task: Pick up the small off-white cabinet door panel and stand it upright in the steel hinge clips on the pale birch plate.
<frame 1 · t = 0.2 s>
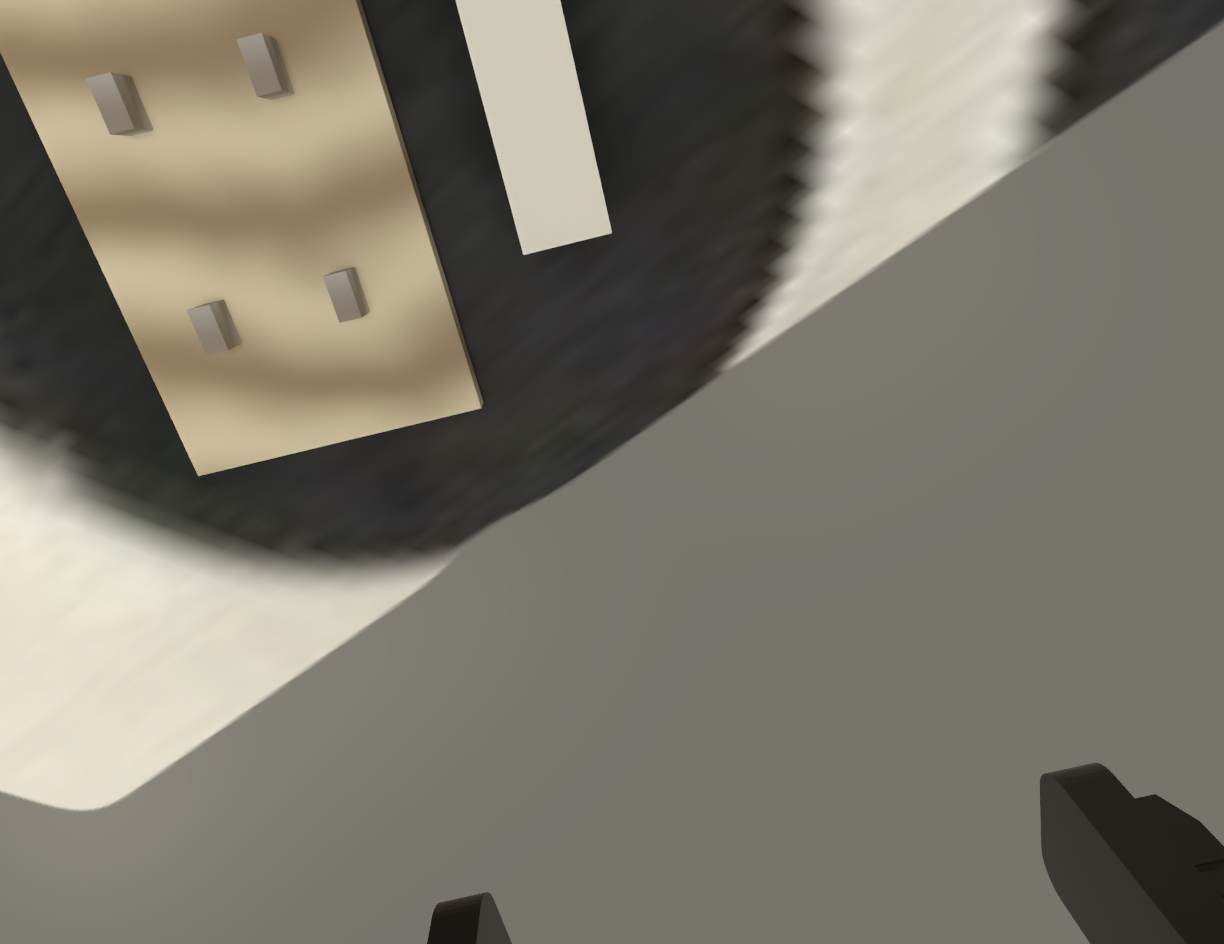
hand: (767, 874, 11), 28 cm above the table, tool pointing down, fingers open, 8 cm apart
door panel: (533, 79, 32), on the table
hinge plate: (255, 202, 34), on the table
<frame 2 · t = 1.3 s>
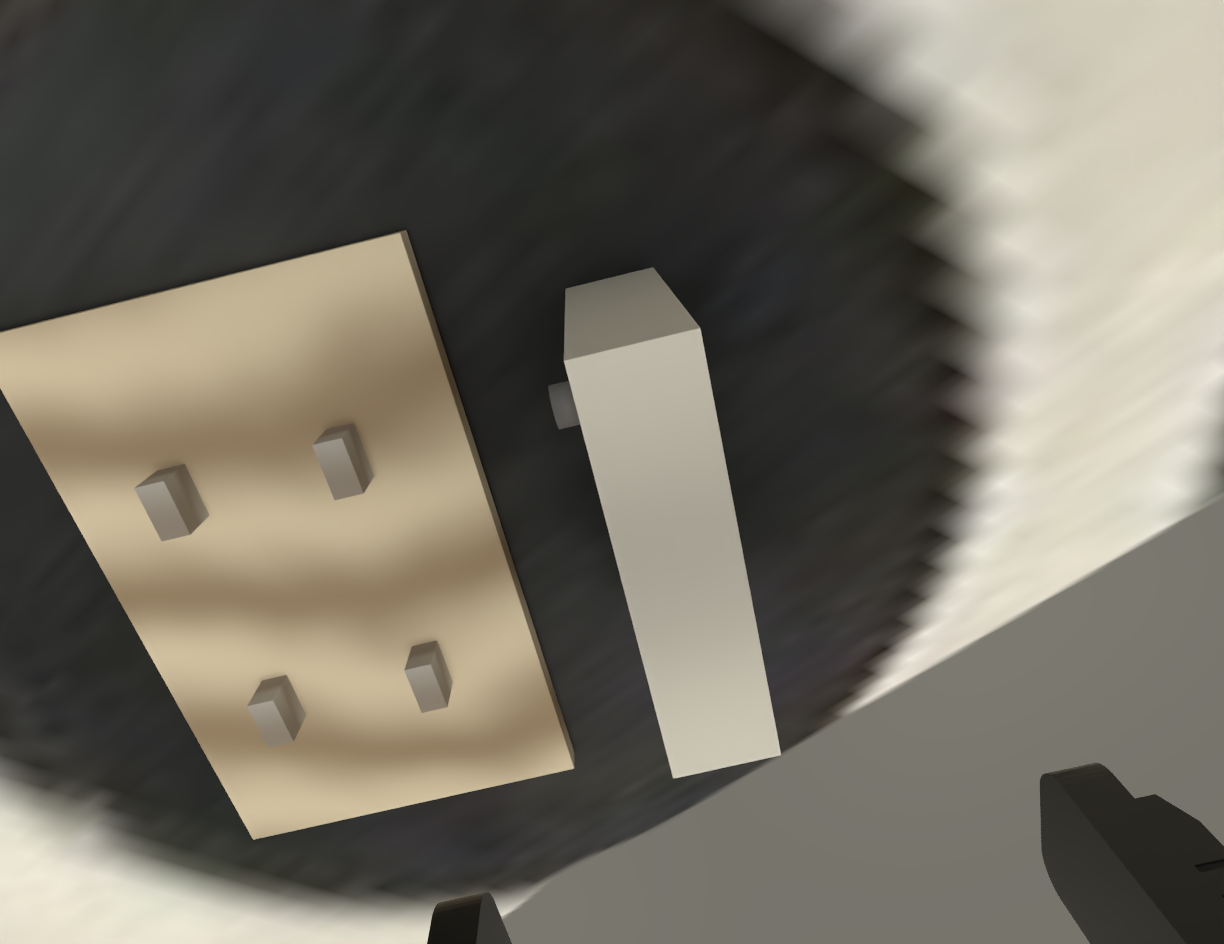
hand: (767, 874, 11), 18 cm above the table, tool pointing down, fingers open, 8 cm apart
door panel: (646, 441, 28), on the table
hinge plate: (323, 570, 29), on the table
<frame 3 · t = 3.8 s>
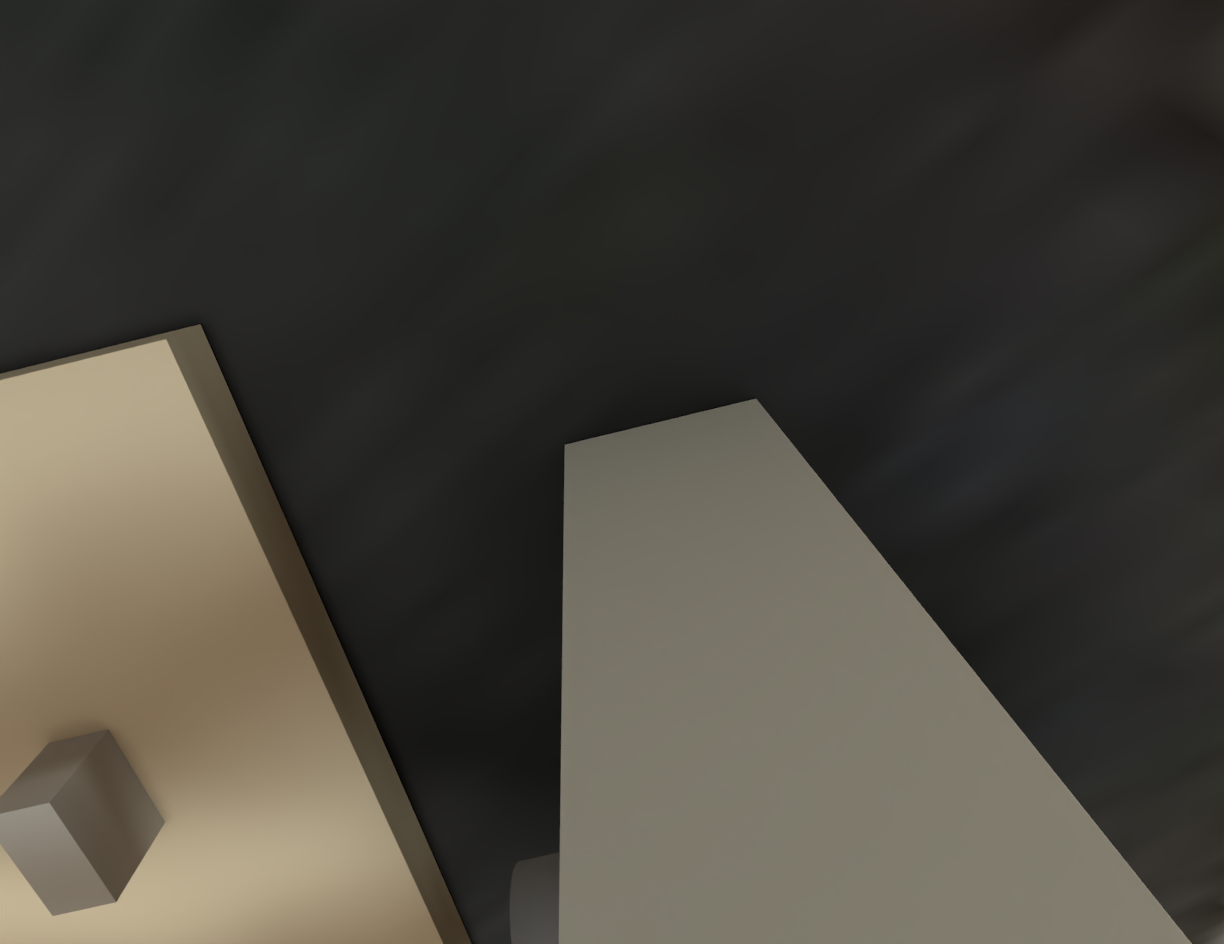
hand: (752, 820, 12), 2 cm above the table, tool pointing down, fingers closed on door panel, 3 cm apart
door panel: (728, 726, 14), on the table, touching gripper
when the fingers open (5 cm above the table, at t = 10.1 s): door panel stays where it is, resting on hinge plate.
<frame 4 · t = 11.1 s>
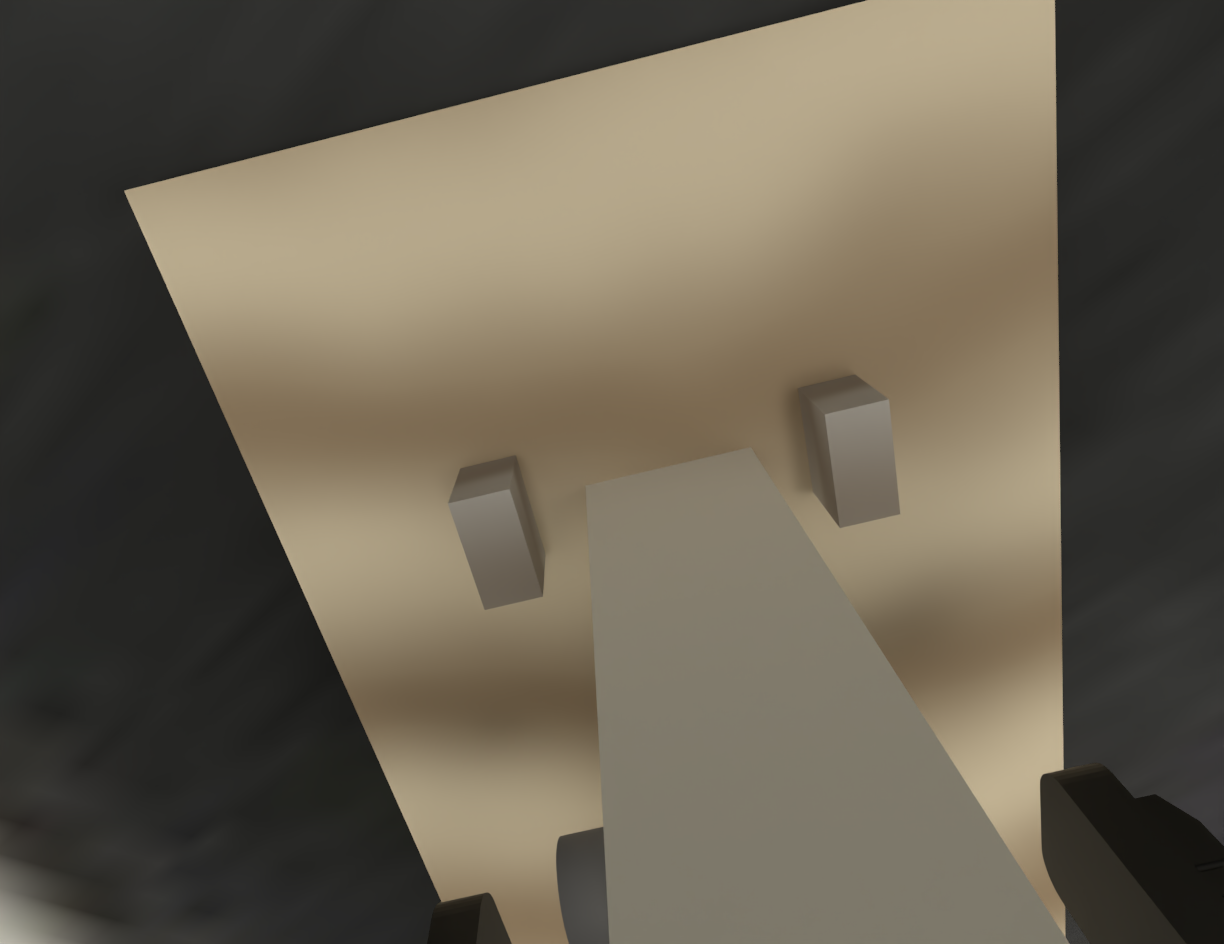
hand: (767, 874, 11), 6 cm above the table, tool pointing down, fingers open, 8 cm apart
door panel: (725, 729, 16), point 1 cm above the table, touching hinge plate
hinge plate: (704, 647, 16), on the table
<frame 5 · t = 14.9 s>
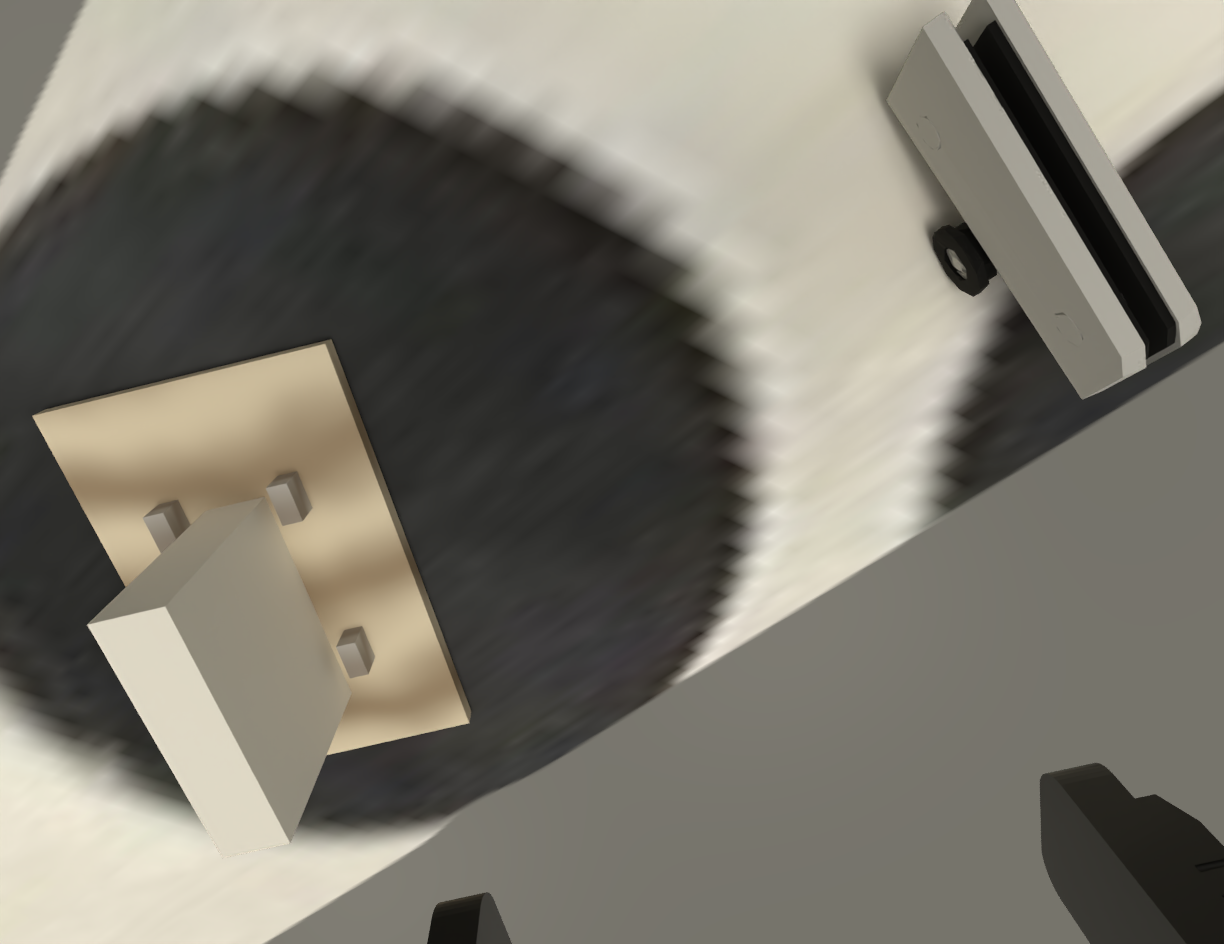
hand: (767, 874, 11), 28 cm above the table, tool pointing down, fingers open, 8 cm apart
door panel: (282, 606, 40), point 1 cm above the table, touching hinge plate
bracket: (921, 62, 31), point 2 cm above the table
hinge plate: (278, 574, 40), on the table
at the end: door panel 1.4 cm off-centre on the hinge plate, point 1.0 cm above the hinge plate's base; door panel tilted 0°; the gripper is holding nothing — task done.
